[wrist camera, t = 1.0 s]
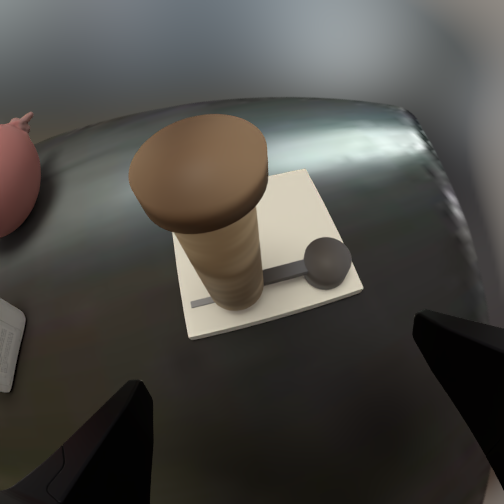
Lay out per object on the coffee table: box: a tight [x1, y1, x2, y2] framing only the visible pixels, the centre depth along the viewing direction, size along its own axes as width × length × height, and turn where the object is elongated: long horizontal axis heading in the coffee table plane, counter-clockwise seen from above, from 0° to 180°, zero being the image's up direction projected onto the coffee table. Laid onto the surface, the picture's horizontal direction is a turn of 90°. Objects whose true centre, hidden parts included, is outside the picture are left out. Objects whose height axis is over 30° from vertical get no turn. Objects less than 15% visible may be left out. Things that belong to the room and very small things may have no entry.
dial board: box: [173, 169, 363, 340], centre depth 24 cm, size 14×14×1 cm
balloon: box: [0, 112, 41, 238], centre depth 25 cm, size 15×20×15 cm
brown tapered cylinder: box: [129, 114, 352, 311], centre depth 16 cm, size 11×5×14 cm, turn 104°
